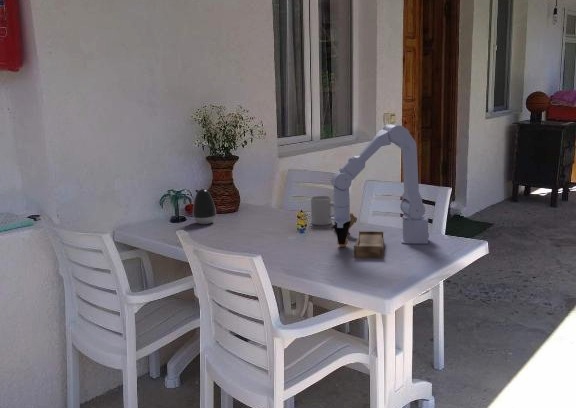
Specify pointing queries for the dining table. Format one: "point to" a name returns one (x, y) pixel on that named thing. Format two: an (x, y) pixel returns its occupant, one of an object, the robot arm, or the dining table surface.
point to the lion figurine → (353, 220)
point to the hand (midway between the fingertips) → (342, 242)
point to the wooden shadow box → (369, 244)
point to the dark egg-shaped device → (204, 207)
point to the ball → (343, 244)
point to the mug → (321, 210)
